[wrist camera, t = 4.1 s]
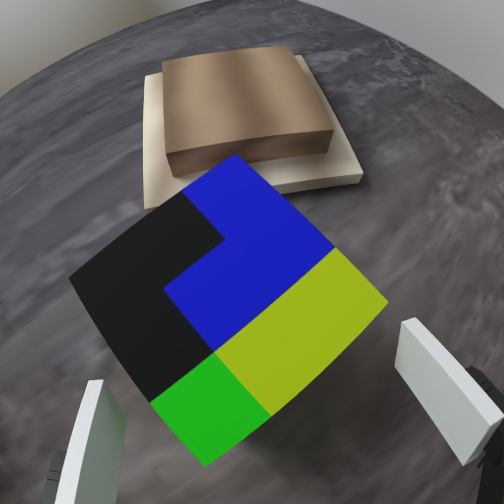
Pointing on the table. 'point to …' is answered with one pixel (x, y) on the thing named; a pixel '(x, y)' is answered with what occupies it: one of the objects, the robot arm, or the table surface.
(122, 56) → the table surface
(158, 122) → the build plinth
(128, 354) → the puzzle toy
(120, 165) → the table surface
